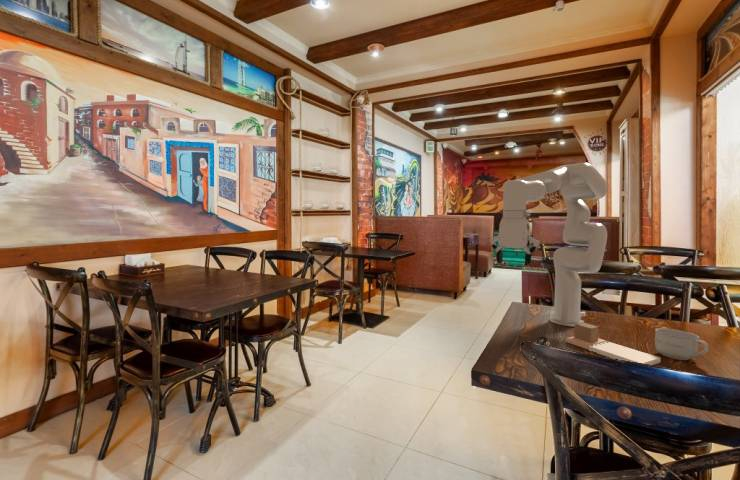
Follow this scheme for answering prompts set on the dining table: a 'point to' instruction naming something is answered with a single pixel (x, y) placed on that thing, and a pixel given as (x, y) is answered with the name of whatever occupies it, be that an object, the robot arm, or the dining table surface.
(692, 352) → the teacup
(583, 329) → the stub
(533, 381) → the dining table surface
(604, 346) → the ticket pad
